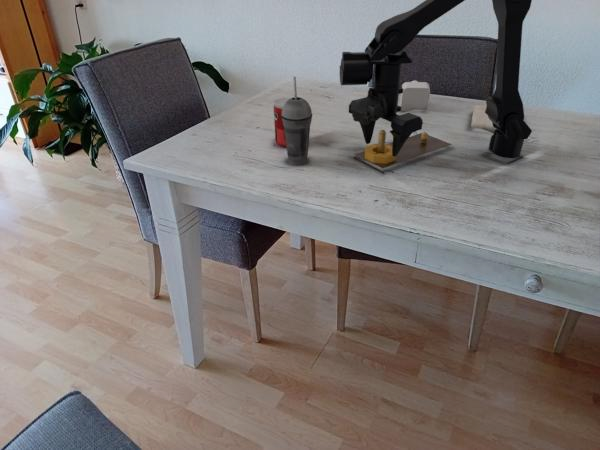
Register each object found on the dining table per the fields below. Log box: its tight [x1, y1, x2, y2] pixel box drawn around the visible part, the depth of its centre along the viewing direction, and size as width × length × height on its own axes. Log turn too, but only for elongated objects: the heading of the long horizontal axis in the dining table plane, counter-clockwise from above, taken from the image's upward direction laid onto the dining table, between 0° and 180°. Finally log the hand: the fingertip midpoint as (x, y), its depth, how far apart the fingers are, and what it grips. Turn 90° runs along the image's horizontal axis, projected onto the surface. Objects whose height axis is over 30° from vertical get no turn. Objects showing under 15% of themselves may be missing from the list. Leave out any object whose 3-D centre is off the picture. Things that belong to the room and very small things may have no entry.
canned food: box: [273, 97, 292, 149], centre depth 118 cm, size 8×8×11 cm
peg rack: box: [353, 129, 452, 174], centre depth 111 cm, size 10×24×8 cm, turn 125°
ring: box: [364, 143, 396, 164], centre depth 109 cm, size 7×7×2 cm
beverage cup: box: [281, 76, 313, 166], centre depth 105 cm, size 7×7×20 cm
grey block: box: [399, 79, 431, 113], centre depth 141 cm, size 8×10×10 cm
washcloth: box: [470, 104, 497, 133], centre depth 130 cm, size 12×18×3 cm, turn 159°
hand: (380, 149), depth 108 cm, fingers open, 9 cm apart
